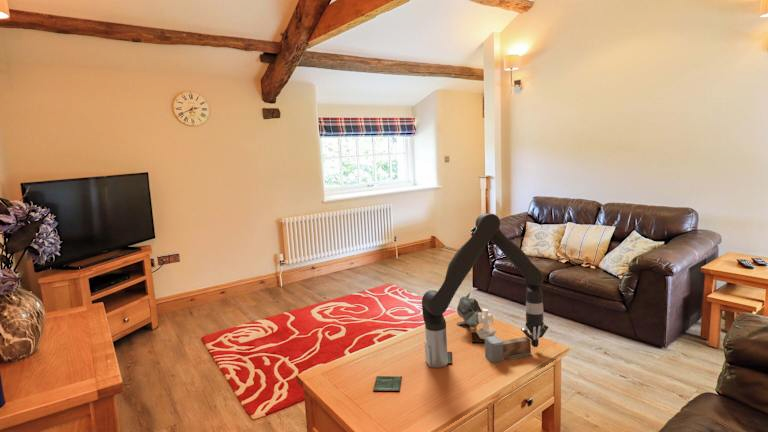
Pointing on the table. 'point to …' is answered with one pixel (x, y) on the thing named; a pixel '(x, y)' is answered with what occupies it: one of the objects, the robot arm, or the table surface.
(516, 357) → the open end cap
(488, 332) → the figurine
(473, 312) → the narwhal figurine
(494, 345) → the socket end cap
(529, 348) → the walnut slat
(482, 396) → the table surface
